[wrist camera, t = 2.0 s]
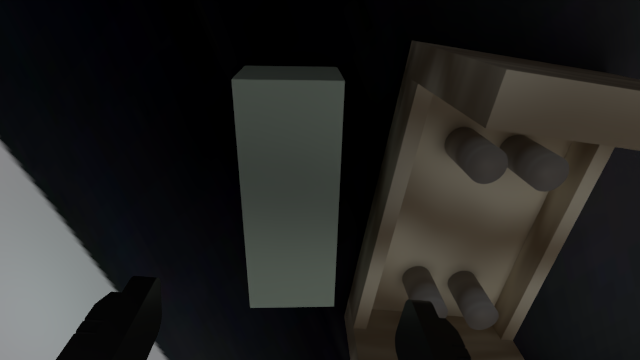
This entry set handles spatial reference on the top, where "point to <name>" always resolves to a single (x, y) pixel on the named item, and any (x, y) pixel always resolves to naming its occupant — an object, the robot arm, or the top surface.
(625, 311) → the top surface
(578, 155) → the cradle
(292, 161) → the grey-green rectangular block
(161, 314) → the robot arm
